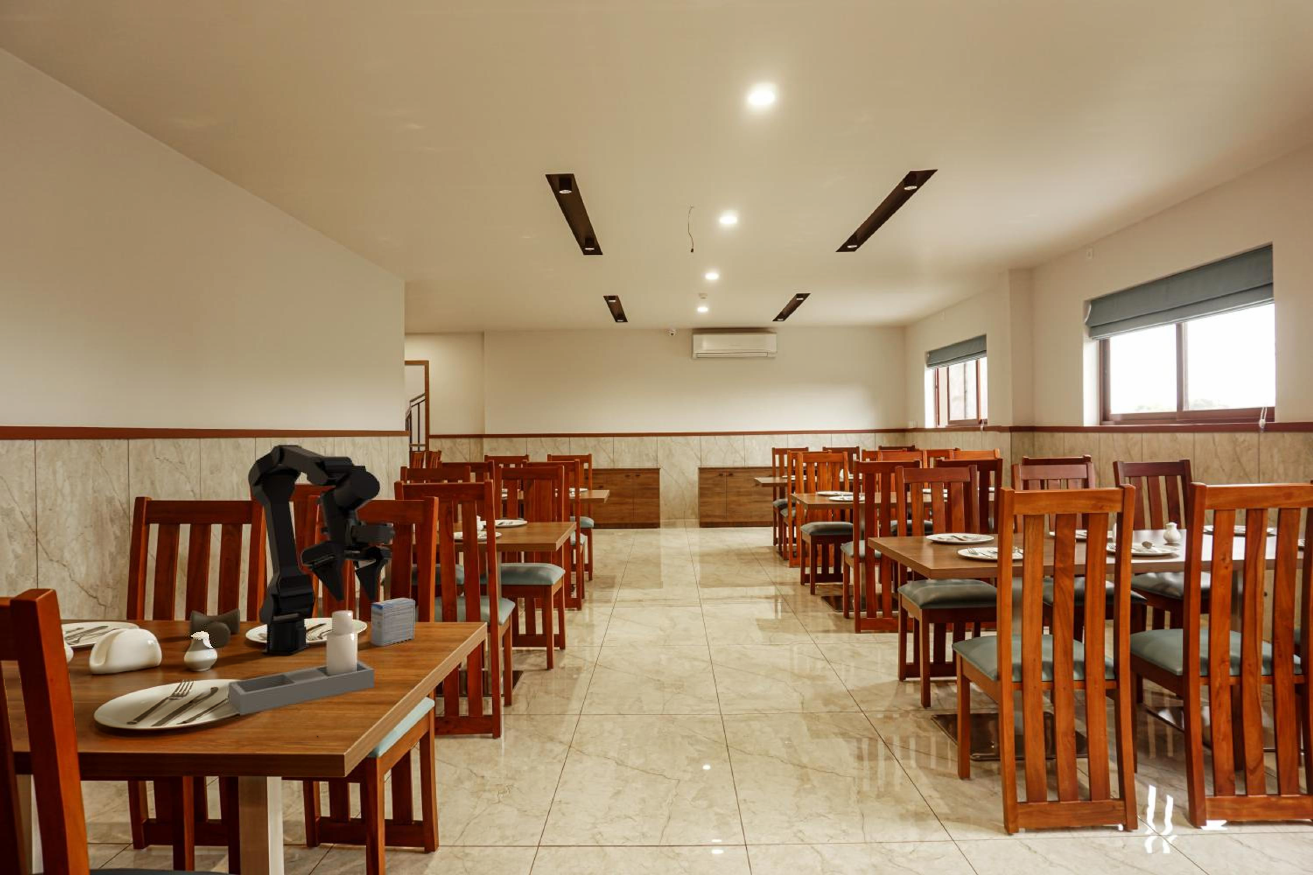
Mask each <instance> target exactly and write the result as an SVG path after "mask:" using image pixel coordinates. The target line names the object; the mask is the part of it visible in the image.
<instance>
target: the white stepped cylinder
mask: <svg viewBox="0 0 1313 875" xmlns="http://www.w3.org/2000/svg"><path fill="white" fill-rule="evenodd" d="M353 615H354V612H353V611H352V610H336V611H334V612H332V613H331V616H332V617H331V631H330V632H327V633H326V655H325V656H326V659H325V660H326V662H325V665H326V676H328V677H329V676H335V675H340V674H345V673H350V672H356V671H357V660H358V634H359V633H358V631H357V630H354V629H353V625H354V624H353V623H354V622H353V618H354V617H353Z"/></svg>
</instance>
